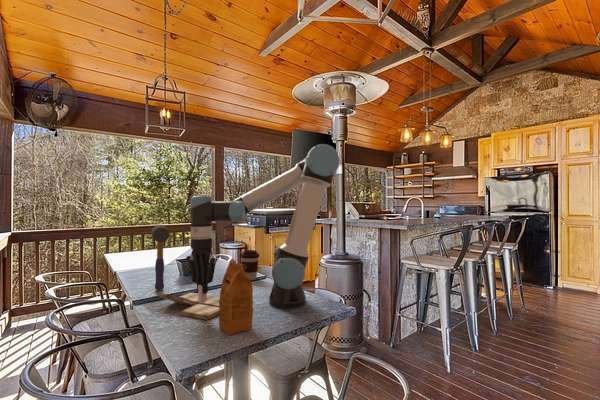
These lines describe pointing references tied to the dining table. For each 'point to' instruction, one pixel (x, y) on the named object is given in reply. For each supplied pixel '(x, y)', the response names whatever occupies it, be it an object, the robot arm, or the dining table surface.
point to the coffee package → (235, 300)
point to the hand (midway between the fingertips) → (202, 301)
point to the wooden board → (210, 302)
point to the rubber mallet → (159, 253)
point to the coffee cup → (250, 263)
